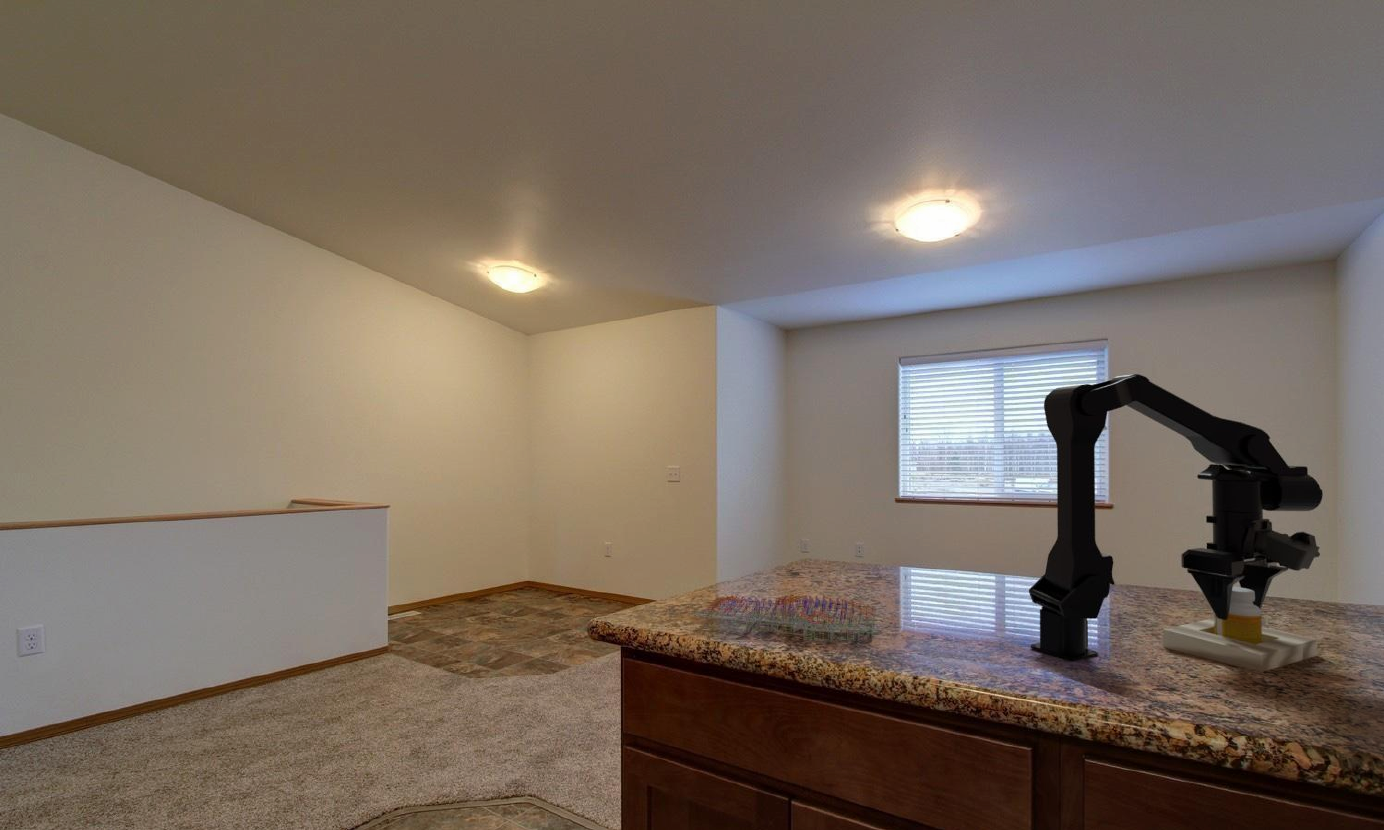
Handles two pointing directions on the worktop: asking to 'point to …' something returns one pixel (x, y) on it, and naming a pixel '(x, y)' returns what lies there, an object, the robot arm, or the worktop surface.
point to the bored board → (1240, 646)
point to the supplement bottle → (1241, 618)
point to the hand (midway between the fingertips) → (1238, 615)
